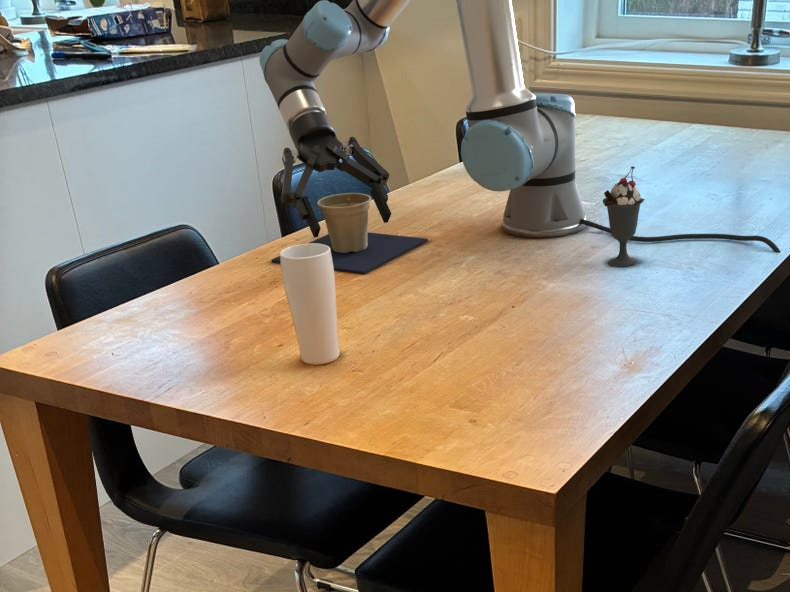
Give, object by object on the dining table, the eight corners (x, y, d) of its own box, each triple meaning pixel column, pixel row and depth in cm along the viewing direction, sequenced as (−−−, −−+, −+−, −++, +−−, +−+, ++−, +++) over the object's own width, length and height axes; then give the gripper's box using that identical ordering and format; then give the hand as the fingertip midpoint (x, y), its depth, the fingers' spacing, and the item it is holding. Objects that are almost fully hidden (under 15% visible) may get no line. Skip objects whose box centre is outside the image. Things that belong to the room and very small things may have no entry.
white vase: (297, 351, 145) (280, 245, 137) (346, 347, 145) (332, 240, 138) (294, 370, 139) (276, 260, 132) (344, 366, 140) (330, 255, 132)
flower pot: (367, 256, 180) (362, 206, 176) (316, 256, 182) (309, 207, 178) (382, 241, 188) (377, 192, 184) (333, 241, 190) (327, 193, 186)
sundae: (646, 256, 173) (649, 163, 165) (638, 269, 167) (640, 173, 160) (607, 255, 175) (608, 163, 167) (598, 267, 169) (598, 173, 162)
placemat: (428, 241, 188) (427, 238, 188) (364, 274, 174) (364, 271, 173) (339, 231, 197) (338, 229, 197) (271, 262, 183) (271, 259, 182)
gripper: (366, 126, 193) (411, 224, 189) (238, 147, 183) (283, 251, 179) (375, 99, 186) (421, 200, 183) (243, 120, 176) (289, 226, 173)
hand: (353, 225), depth 181 cm, fingers open, 13 cm apart
